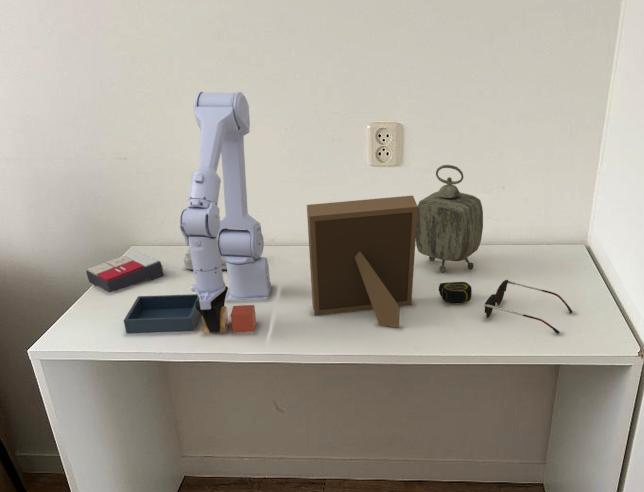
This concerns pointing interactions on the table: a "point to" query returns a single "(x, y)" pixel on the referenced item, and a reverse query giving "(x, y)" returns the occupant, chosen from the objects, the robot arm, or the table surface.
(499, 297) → the sunglasses
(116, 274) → the red and grey box
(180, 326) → the bin
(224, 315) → the maple block
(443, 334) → the table surface
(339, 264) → the photo frame
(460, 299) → the tape measure
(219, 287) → the robot arm
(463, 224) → the tabletop clock
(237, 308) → the terracotta block
